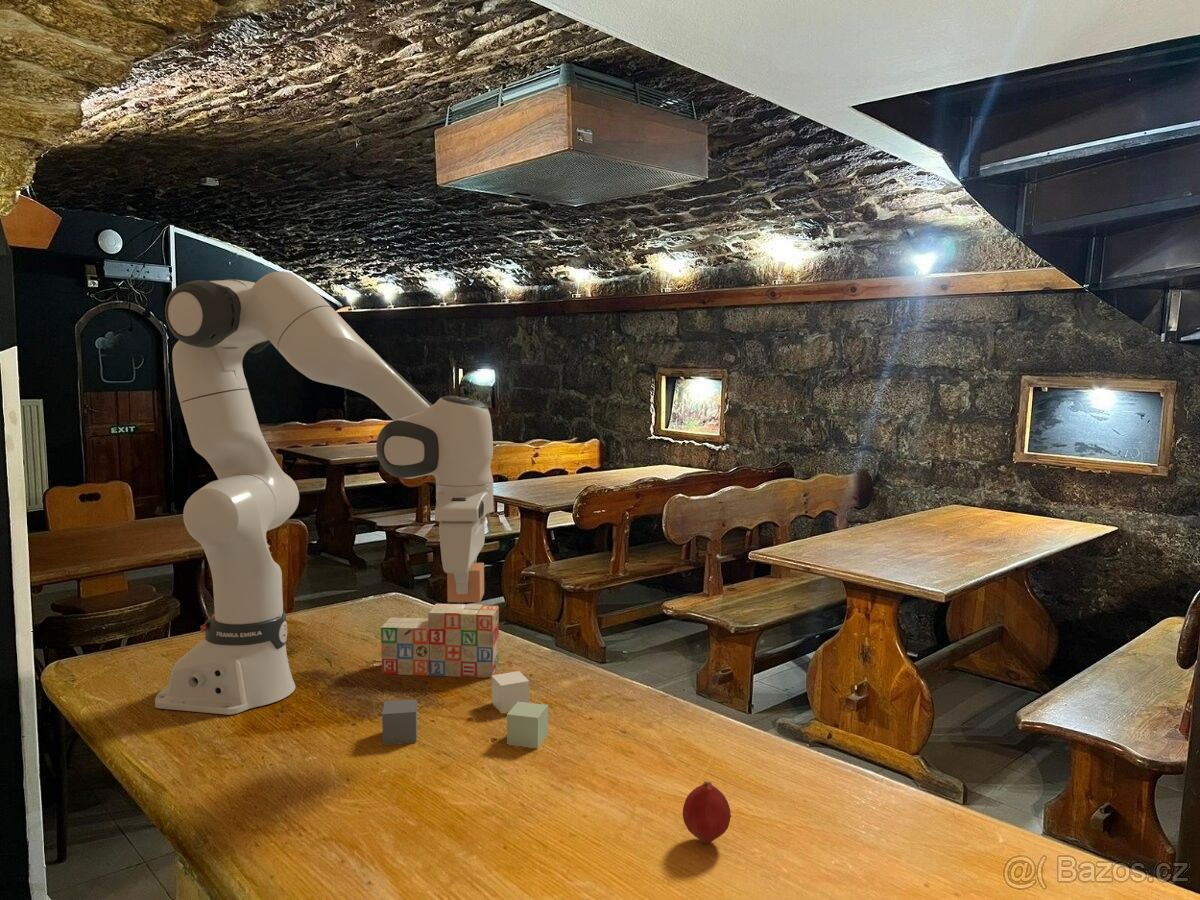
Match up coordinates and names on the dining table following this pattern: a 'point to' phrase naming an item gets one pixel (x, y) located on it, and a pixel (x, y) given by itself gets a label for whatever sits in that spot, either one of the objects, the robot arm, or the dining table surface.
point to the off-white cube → (509, 690)
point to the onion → (706, 813)
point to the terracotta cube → (474, 585)
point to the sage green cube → (527, 724)
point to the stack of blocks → (443, 642)
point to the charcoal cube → (399, 721)
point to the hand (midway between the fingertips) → (465, 587)
